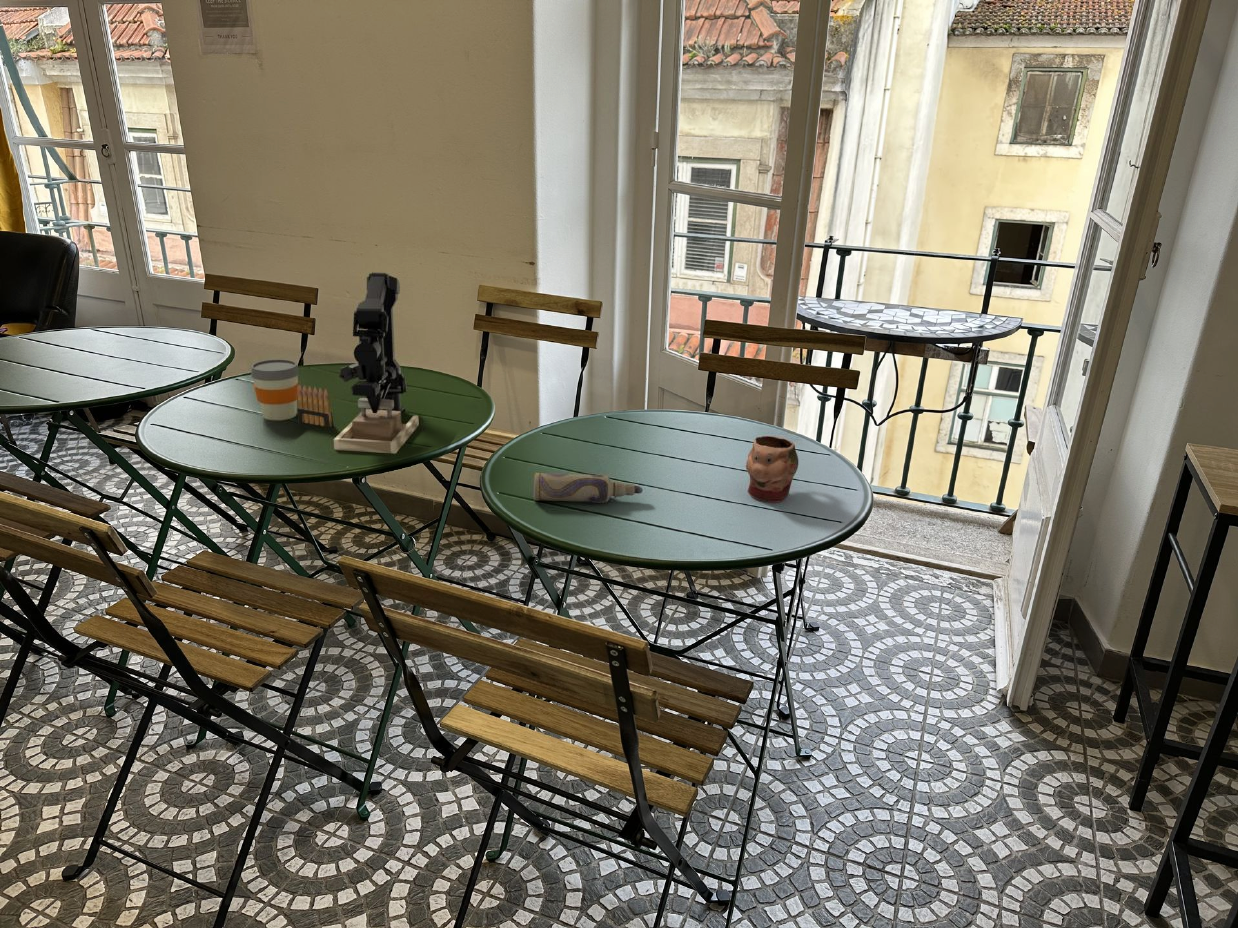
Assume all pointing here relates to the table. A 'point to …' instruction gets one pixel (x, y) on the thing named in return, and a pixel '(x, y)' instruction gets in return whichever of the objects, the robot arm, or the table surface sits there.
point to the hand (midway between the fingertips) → (376, 411)
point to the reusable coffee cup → (276, 388)
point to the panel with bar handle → (377, 422)
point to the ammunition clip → (313, 408)
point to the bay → (347, 443)
